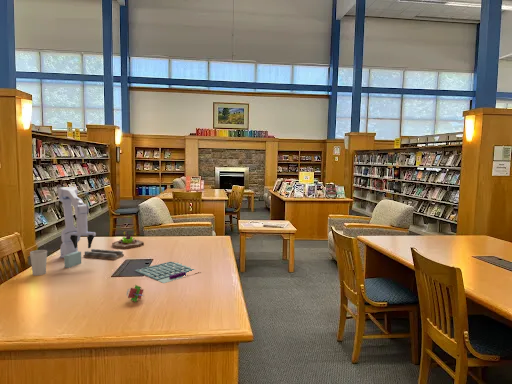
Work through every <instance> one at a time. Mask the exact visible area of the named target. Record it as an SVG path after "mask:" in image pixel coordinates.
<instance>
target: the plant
mask: <svg viewBox="0 0 512 384" xmlns="http://www.w3.org/2000/svg"><path fill="white" fill-rule="evenodd" d="M122 234H123V237H121V238H120V239H119V240H117V241H114V242H112V246H111V247H112V248H114V249H117V250H118V249H119V250H129V249H136V248H140V247H143V246H144V245H145V244H144V243H145V242H144V241H141V240H139V239H135V237H133V236H131V235H132V234H133V235H134V236H136V232H131V233H128V231H127V230H125V231H123V233H122ZM125 236H126V237H125Z"/></svg>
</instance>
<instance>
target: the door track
mask: <svg viewBox="0 0 512 384" xmlns="http://www.w3.org/2000/svg"><path fill="white" fill-rule="evenodd" d="M124 256H125V254H124V252H123V251H122V250H111V249H98V248H97V249H96V248H90V251H89V250H87V251H84V255H83V257H82V258H89V259H99V260H108V261H109V260H111V261H115V260H117V259H120V258H123V257H124Z"/></svg>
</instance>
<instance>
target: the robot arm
mask: <svg viewBox="0 0 512 384" xmlns="http://www.w3.org/2000/svg"><path fill="white" fill-rule="evenodd" d="M57 195H58V201H59V202H62V203H61V204H62V208H63V217H64V223H65V224H64V225H65V228H64V229H63V230H61V232H60V233H61V235H60V239H61V242H62V243H61V244H60V250H59V251H60V255H59V258H63V259H64V255H67V254H70V253H73V252H76V251H79V250H78V249H79V248H78V243H79V242H80V241H81V237H87V238H86V239H87V248H88V249H92V248H91V247H92V243H93V240H94V238H95V237H96V235H97V233H96V232H95V231H88V229H89V228H88V214H89V212H90V208H89V205H88V203H84V202H83V200H82V198H80V197H78V188H77V186H66V187H65V186H64V187H62V186H60V187H59V188H58V191H57ZM73 208H74V214H75V218H76V219H75V220H76V227H75V224H74V215H73Z"/></svg>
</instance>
